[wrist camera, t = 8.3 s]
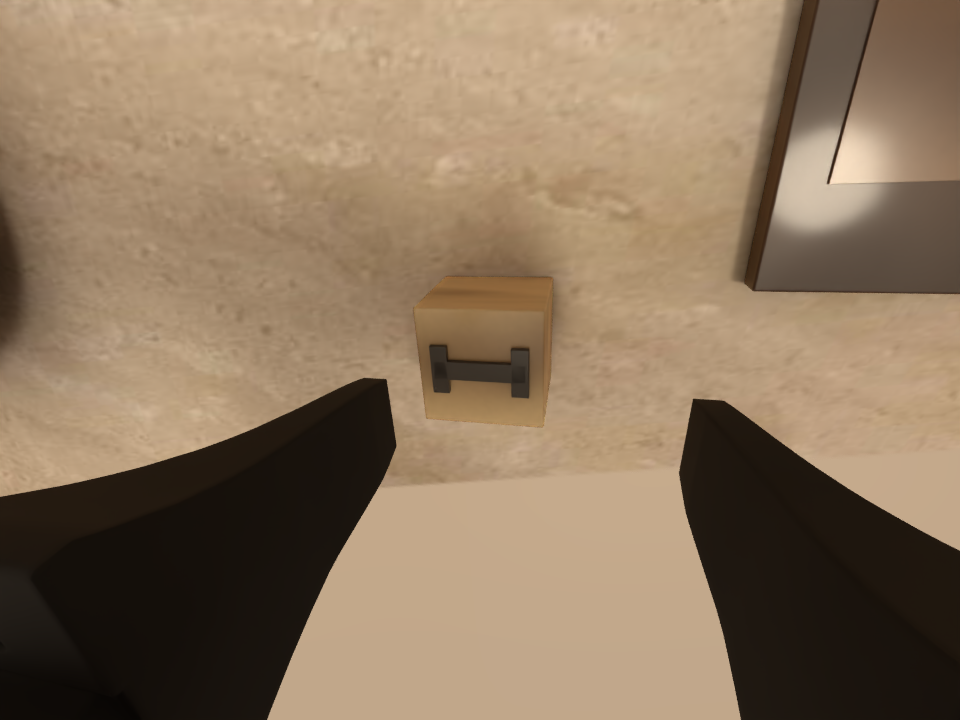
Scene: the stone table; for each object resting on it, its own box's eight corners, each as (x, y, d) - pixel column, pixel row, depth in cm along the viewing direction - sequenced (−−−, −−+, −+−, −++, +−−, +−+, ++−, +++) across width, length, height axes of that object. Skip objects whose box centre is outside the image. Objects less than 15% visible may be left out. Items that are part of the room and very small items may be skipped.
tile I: (550, 376, 19) (542, 431, 16) (452, 371, 20) (423, 422, 17) (553, 276, 17) (545, 313, 14) (445, 275, 18) (410, 309, 15)
